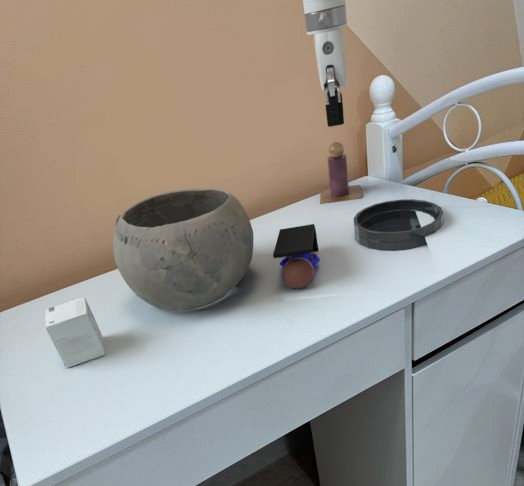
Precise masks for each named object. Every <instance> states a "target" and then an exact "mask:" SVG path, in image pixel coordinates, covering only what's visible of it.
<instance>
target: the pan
mask: <svg viewBox="0 0 524 486" xmlns="http://www.w3.org/2000/svg"><path fill="white" fill-rule="evenodd" d="M417 212H421V213H422V214H423V213H424V214H427V215H429V216H430V217H431V218H433V221H432V222H430V223H428V224H426V225H422V226H421V223H420V220H419V216H418V214H417ZM444 215H445V214H444V209H443V208H442V207H441V206H440V205H438V204H437V203H434V202H432V201H428V200H425V199H423V200H422V199H413V198H411V199H410V198H406V199H405V198H403V199H393V200H387V201H382V202H378V203H374V204H372V205H369V206H367V207H364V208H363V209H361V210H360V211H358V212H357V213H356V214H355V216H354V217H353V230H354V240H355V241H356V242H357V243H358V244H359V245H360V246H363V247H365V248H369V249H372V250H377V251H378V250H379V251H402V250H411V249H415V248H419V247H422V246H426V245H427V244H428V242H427V240H426V237H428V236H430V235H432V234H434V233H436V232H437V231H438V230H440V229H441V228H442V227H443V224H444Z"/></svg>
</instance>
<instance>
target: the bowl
mask: <svg viewBox="0 0 524 486" xmlns="http://www.w3.org/2000/svg"><path fill="white" fill-rule="evenodd" d="M114 231H115V232H114V234H113V241H112V242H113V243H112V246H113V247H112V248H113V249H112V250H113V257H114V262H115V265H116V267H117V269H118V272H119V274H120V276H121V277H122V279H123V280H124V282H125V284H126V285H127V286H128V288H129V289H130V290H131V291H132V292H133V293H134V294H135V295H136V296H137V297H138V298H140V299H141V300H142V301H143V302H145V303H147V304H148V305H151V306H153V307H155V308H158V309H160V310H166V311H187V310H194V309H199V308H203V307H206V306H208V305H210V304H213V303H215V302H217V301H219V300H221V299H222V298H224V297H225V296H226V295H228V294H229V293H230V292H231V291H233V289H234V288H235V287H236V286H237V285H238V284H239V282H240V281H241V280H242V279H243V277H244V276H245V275H246V273H247V271H248V269H249V268H250V265H251V262H252V259H253V254H254V235H255V234H254V229H253V227H252V223H251V220H250V217H249V215H248V213H247V211H246V210H245V207H244V206H243V204H242V203H241V202H240V200H239V199H238V198H237V197H236V196H235V195H233V194H232V193H230V192H228V191H227V190H224V189H222V188H214V187H199V188H185V189H178V190H177V189H176V190H170V191H166V192H161V193H157V194H154V195H151V196H149V197H147V198H144V199H142V200H140V201H138V202H136V203H134V204H132V205H130V206H129V207H128V208H126V209H124V210H123V211H122V213H121V214H118V216H117V218H116V220H115V230H114Z"/></svg>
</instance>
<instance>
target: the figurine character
mask: <svg viewBox="0 0 524 486" xmlns="http://www.w3.org/2000/svg"><path fill="white" fill-rule="evenodd" d="M318 252H320V251H319V244H318V235H317V229H316V225H315V223H312V224H305V225H298V226H293V227H287V228H280V229H279V230H278V236H277V239H276V242H275V247H274V250H273V253H272V258H273V259H279V258H284V259H282V260H281V261H279V266H280V267H281V270H282V271H281V273H282V280H283V282H284V283H285V284H286V285H287V286H288V287H290V288H291V289H296V290H297V289H298V290H299V289H304V288H307V286H309V285H310V284H311V283H312V281H313V280H314V277H315V270H314V268H316V266H317V264H318V263H319V262H320V258H319V256H318Z"/></svg>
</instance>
